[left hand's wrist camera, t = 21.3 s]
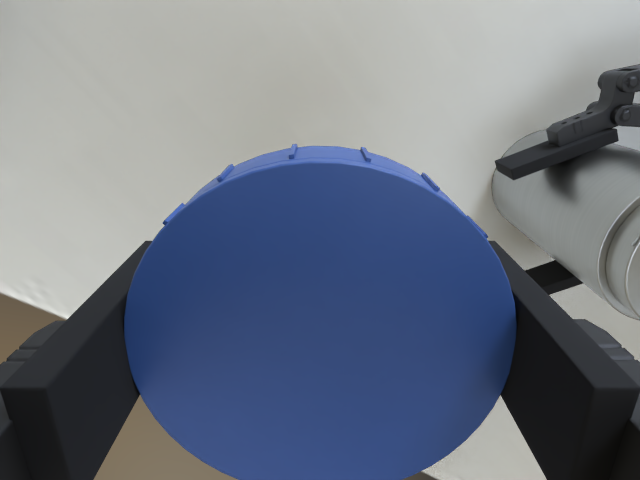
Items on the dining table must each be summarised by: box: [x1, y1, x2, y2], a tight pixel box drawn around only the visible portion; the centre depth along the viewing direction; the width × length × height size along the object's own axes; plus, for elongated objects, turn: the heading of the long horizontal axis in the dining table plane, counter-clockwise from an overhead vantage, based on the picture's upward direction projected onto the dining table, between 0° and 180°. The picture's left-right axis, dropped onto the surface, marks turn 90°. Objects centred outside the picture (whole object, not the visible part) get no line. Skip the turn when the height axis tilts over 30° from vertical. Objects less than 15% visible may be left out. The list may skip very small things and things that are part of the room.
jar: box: [492, 130, 640, 320], centre depth 28 cm, size 8×8×16 cm
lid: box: [124, 144, 517, 480], centre depth 11 cm, size 9×9×2 cm
